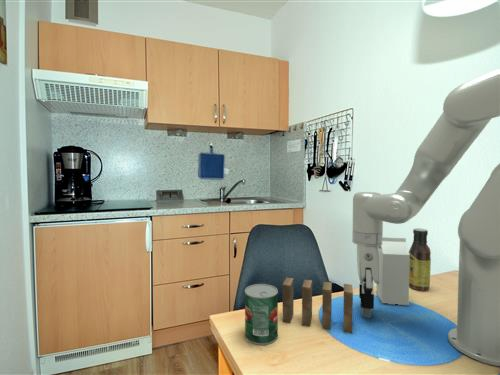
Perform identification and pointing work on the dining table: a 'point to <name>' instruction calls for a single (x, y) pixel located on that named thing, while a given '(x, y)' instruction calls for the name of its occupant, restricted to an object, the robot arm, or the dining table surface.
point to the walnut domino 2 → (307, 303)
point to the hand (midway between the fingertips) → (366, 302)
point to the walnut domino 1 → (288, 300)
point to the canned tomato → (261, 314)
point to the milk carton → (393, 271)
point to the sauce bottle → (419, 261)
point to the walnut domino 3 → (326, 305)
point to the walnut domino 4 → (348, 308)
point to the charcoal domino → (366, 311)
